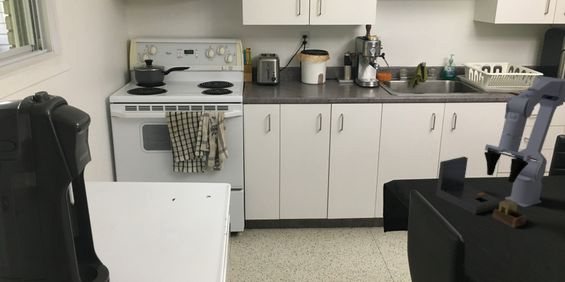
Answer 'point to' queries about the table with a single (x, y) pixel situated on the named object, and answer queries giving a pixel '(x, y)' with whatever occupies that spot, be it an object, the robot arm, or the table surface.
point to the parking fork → (510, 218)
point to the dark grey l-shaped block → (462, 188)
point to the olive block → (508, 206)
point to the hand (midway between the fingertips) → (500, 178)
